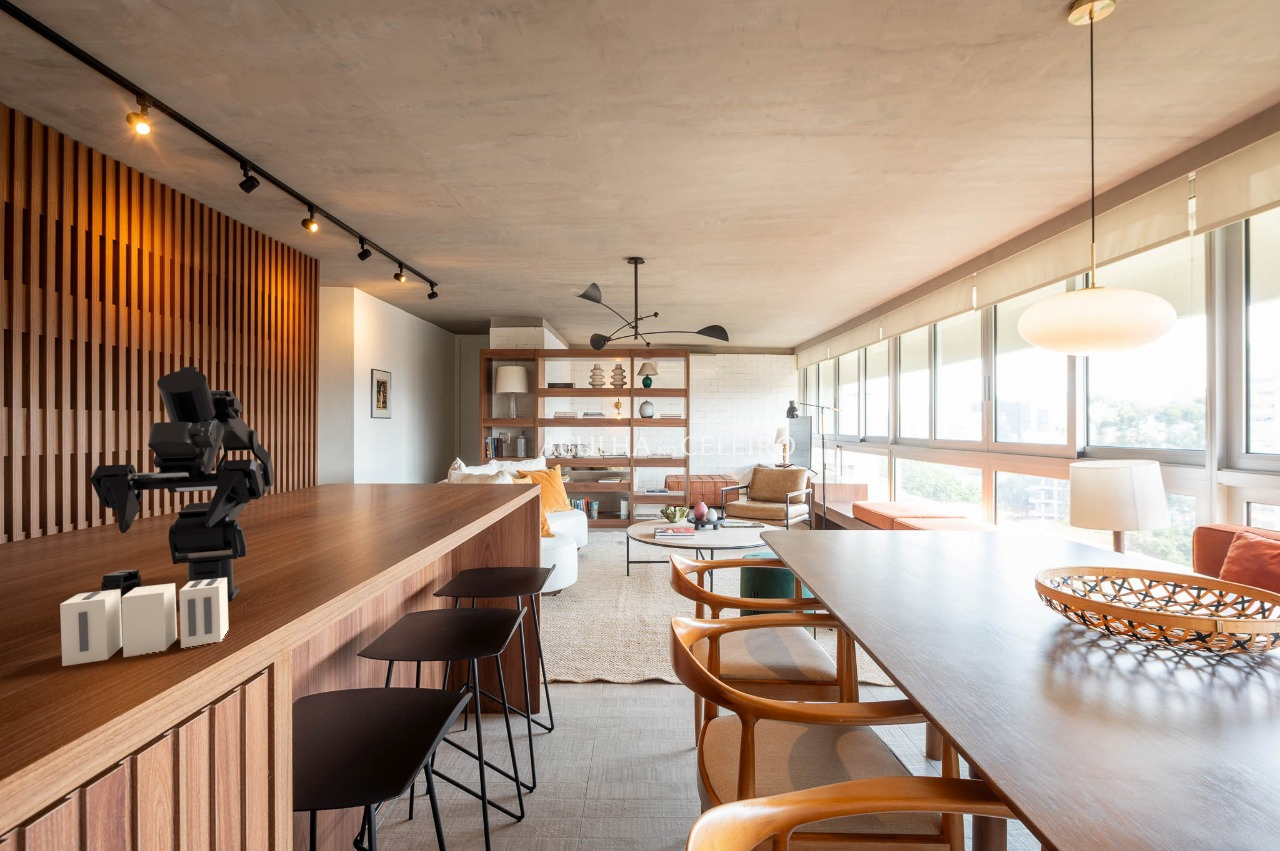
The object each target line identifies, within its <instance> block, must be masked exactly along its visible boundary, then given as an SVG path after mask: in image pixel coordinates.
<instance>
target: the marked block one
mask: <svg viewBox="0 0 1280 851" xmlns="http://www.w3.org/2000/svg"><path fill="white" fill-rule="evenodd" d="M59 606H60V607H59V608H60V610H59V611H60V612H59V613H60V634H61V635H60V636H61V666H62V667H65V666H73V665H78V664H87V663H91V662H93V663H94V662H99V661H106V660H109V659H110V658H111V657H112V656H113V655H114V654H115V653H116V652H118V650H120V649H121V648H122V647H123V626H122V603H121V591H120V589H118V588H117V589H116V590H107V591H101V590H99V591H90V592H82V593H77V594H75V595H73V596H71V597H70V598H68V599H67V600H65V601H64V602H62V603H60V605H59Z"/></svg>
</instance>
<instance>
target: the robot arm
mask: <svg viewBox="0 0 1280 851" xmlns="http://www.w3.org/2000/svg"><path fill="white" fill-rule="evenodd" d="M156 385H157V387H158V391H159V394H160V396H161V399H162V402H163V405H164V408H165V411H166V415H167V417H168V420H169V421H167V422H166V421H165V422H163V421H162V422H159V421H158V422H153V423H152V424H151V428H150V433H149V439H148V443H147V446H148V448H149V449H151V450H152V451H153V453H154V454H155V455H154V458H153V460H152V463H153V465H154V467H155V469H160V470H159V471H158V472H156V471H155V472H138V473H137V470H136V468H135V465H134V464H130V463H128V464H108V465H107V464H106V465H105V464H104V465H98V466H96V467H95V468H94V470H93V471H92V473H91V475H90V478H89V480H90V483H91V485H92V486H93V489H94V491H95V493H96V495H97V497H98V499H99V501H100V504H101V506H102V507H104V508H108V509H111V510H112V511H115V512H116V514H117V521H118V522H117V523H118V528H119V531H120V533H121V534H126V533H127V532H128V531H129V529H130V528H131V527H132V524H133V522H134V520H135V518H136V516H137V515H138V513H139V511H140V508H141V506H140V504H139V503H141V502H142V499H143V494H144V493H143V491H149V490H150V491H152V490H167V491H168V493H169V494H170V493H187V492H188V493H190V492H191V493H192V492H205V491H207V492H208V491H212V490H213V491H214V490H215V492H214V495H213V496H212V497H211V499H209V501H207V502H192V503H191V502H189V503H188V504H186V505H185V506H184V507H183V509H182V511H178V513H177V515H178V517H177V518H176V519H174V522H173V523H172V524H171V525H170V527H169V530H168V543H169V548H170V549H169V550H170V554H171V559H172V565H179V564H187V578H188V580H187V581H188V582H187V583H189V582H190V581H199V580H208V579H218V578H227V595H228V601H232V600H234V598H236V596H237V594H238V593H239V592H240V587H234V571H233V570H234V569H233V568H234V567H233V564H234V563H233V560H238V559H239V558H244V557H247V555H248V554H247V553H248V552H247V548H248V547H247V542H246V539H245V534H244V530H243V528H242V527H241V524H240V522H239V520H238V518H239V516H240V515H241V513H242V512H243V511H244V509H245V508H246V506H247V505H248V503H250V501H252V500H259V499H260V498H261V497H262V496H264V495H265V494H267V493H268V492H269V491H270V490H271V487H273V486H274V482H275V474H274V468H273V461H272V456H271V454H270V453H269V452H268V451H267V450H266V448H264V447H263V446H262V445H261V444H260V442H259V436H258V433H257V430H255V429H252V428H250V427H249V425H248V424H247V423H246V422H245V421H244V420H243V419H242V418H241V416H240V413H241V412H242V411H243V405H242V403H241V402H240V400H239V398H238V397H237V396H235V393H234V392H233V391H232V390H230V389H227V390H226V389H220V390H219V389H218V390H217V389H215V390H213V389H211V390H210V386H209V383H208V379H207V376H206V375H205V373H202V372H200V371H199V369H198V367H197V366H182V367H180V369H179V370H177V371H173V372H170V373H168V374H165V375H163V376H162V377H159V378H158V380H157V383H156ZM222 449H223V453H222V455H221V457H220V458H219V461H218V463H217V464H216V457H217V455H218V453H219V451H222ZM241 451H244V452H245V451H251V453H252V455H253V456H254V457H255V458H256V459H257V460H258V461H259V462H257V461H256V460H255V459H251V458H250V459H230V460H229V459H228V460H225V459H226V458H227V456H228V454H229V452H241ZM215 471H216V472H215Z"/></svg>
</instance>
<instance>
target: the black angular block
mask: <svg viewBox="0 0 1280 851" xmlns="http://www.w3.org/2000/svg"><path fill="white" fill-rule="evenodd" d="M100 584H101V586H100V588H101V589H100V591H107V590H116V589H120V591H121V602H122V597H123V596H124V595H126V594H127V593H128V592H130V591H131V590H133V589H134V588H136V587H142V576H141V574H140V570H139V569H121V570H117V571H114V572H110V573H107V574H103V575H102V581H101V582H100Z"/></svg>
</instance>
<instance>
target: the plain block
mask: <svg viewBox="0 0 1280 851" xmlns="http://www.w3.org/2000/svg"><path fill="white" fill-rule="evenodd" d="M121 619H122V647H123V648H122V651H123V652H122V654H123V656H122V657H123V658H127V657H135V656H140V655H141V654H142V655H147V654H146V653H149V654H153V653H152V652H156V653H160V652H159V651H163V652H165V651H164V650H166V649H167V648H168V647H169V646H170V645H171V644H172V645H173V643H175V641H176V640H177V639H178V627H177V625H178V624H177V623H178V622H177V599H176V583H175V582H173V583H163V584H155V585H154V584H153V585H145V586H141V587H136V588H134V589H133V590H131V591H130V592H128V593H127V594H126V595H124V596H123V597H122V603H121ZM176 638H177V639H176ZM172 645H171V646H172ZM171 646H170V647H171ZM170 647H169V648H170ZM169 648H168V649H169ZM168 649H167V650H168ZM167 650H166V651H167Z"/></svg>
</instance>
